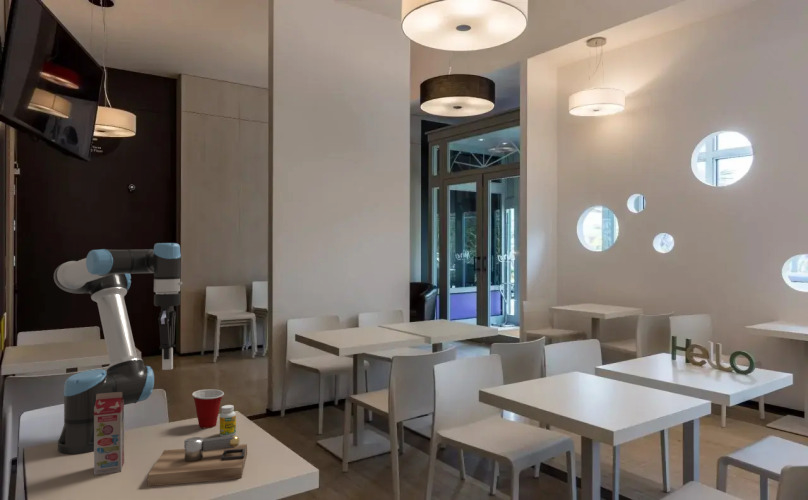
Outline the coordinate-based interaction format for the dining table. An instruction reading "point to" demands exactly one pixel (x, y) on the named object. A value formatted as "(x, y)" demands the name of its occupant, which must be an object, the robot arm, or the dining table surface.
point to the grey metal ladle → (207, 446)
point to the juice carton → (108, 433)
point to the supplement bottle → (227, 421)
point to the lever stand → (198, 466)
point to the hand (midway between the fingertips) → (167, 369)
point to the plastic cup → (207, 406)
